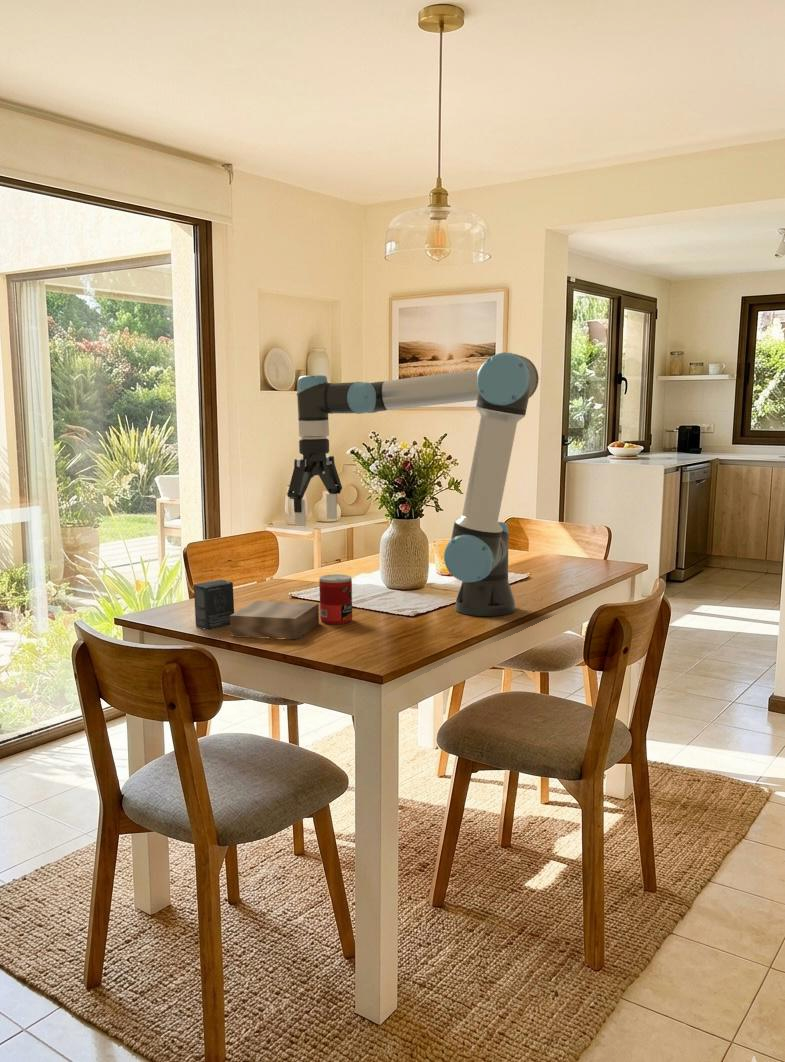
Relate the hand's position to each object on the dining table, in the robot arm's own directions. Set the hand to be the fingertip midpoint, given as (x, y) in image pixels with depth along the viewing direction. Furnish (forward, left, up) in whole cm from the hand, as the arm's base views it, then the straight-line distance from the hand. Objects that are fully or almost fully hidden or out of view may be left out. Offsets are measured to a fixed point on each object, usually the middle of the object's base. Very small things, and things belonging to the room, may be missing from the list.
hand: (316, 522), depth 232 cm
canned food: (-9, +6, -24) cm, 26 cm away
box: (+15, +23, -24) cm, 36 cm away
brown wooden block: (-1, +20, -23) cm, 31 cm away
